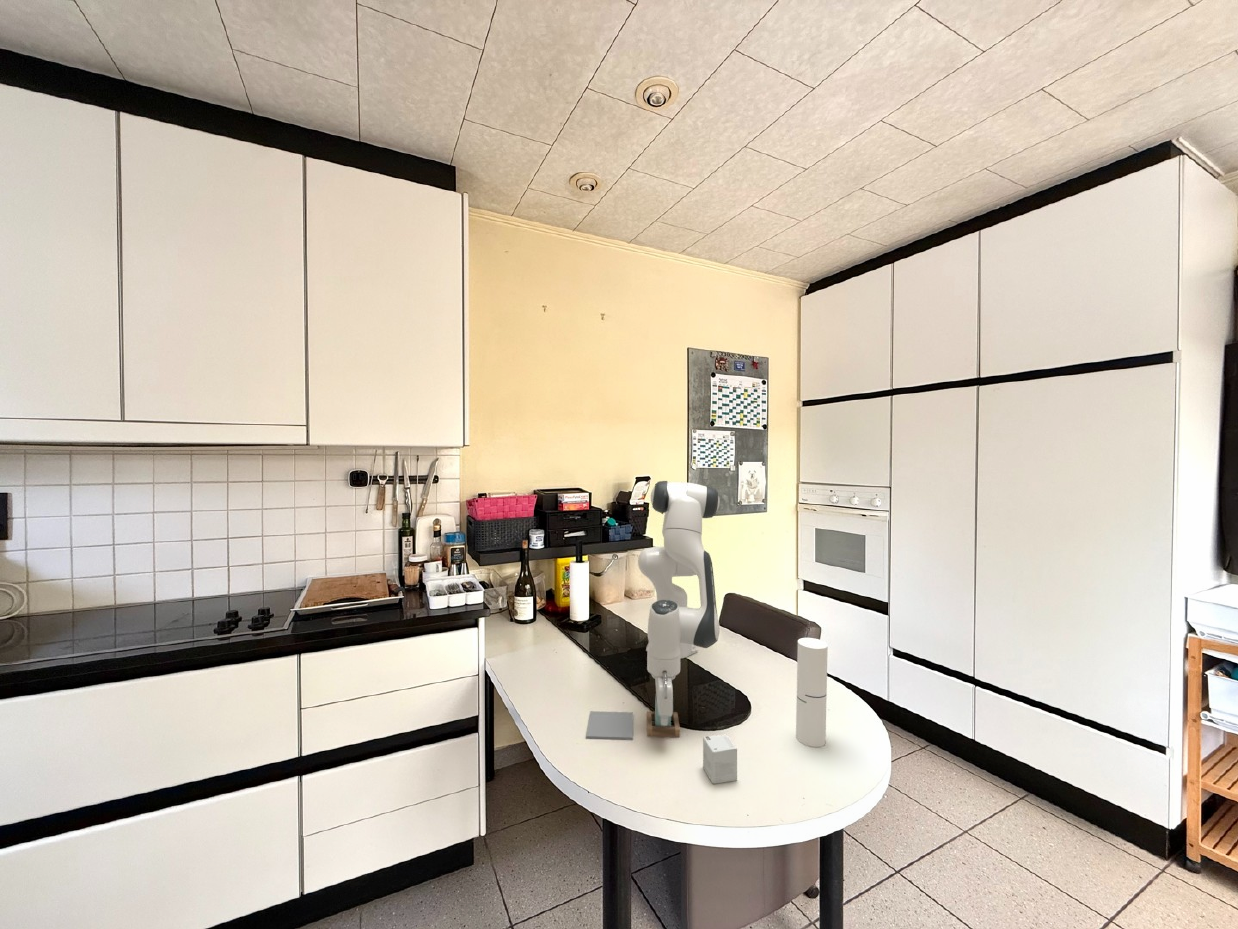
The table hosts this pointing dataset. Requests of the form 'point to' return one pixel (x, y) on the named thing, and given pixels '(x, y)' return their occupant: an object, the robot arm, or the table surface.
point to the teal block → (658, 718)
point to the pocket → (663, 731)
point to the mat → (610, 725)
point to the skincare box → (719, 758)
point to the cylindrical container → (811, 692)
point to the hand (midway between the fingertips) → (663, 714)
